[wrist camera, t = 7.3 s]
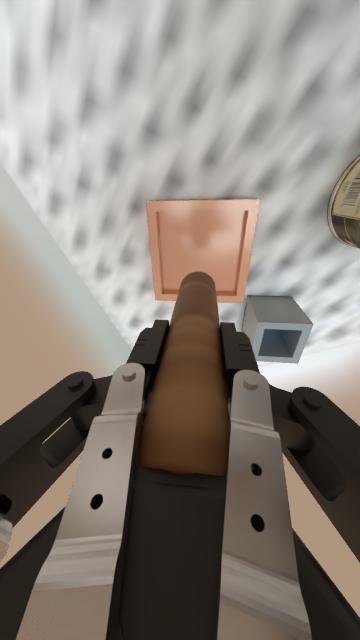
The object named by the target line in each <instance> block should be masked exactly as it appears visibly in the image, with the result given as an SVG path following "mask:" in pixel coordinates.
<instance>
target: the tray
mask: <svg viewBox="0 0 360 640" xmlns="http://www.w3.org/2000/svg"><path fill="white" fill-rule="evenodd" d="M259 204H260V199H202V200H151V201H146V207H147V217H148V228H149V239H150V249H151V260H152V270H153V281H154V292H155V300H161V301H176V300H177V296H178V293H179V289H180V285H181V282H182V280H183V278H184V277H185V276H186V275H188V274H189V273H192V272H196V271H200V272H204V273H207V274H208V275H210V276H211V277H212V279H213V280H214V282H215V287H216V296H217V302H224V303H243V301H244V295H245V289H246V283H247V277H248V270H249V264H250V258H251V252H252V246H253V240H254V234H255V228H256V222H257V216H258V210H259Z"/></svg>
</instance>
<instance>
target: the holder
mask: <svg viewBox="0 0 360 640" xmlns="http://www.w3.org/2000/svg"><path fill="white" fill-rule="evenodd" d="M312 327H313V323H312V322H311V321H310V319H309V318H308V317H307V316H306V314H305V313H304V312H303V311H302V309H301V308H300V307H299V305H298V304H297V303H296V302H295V300H294V299H293V298H292V297H282V296H248V297H247V303H246V308H245V314H244V320H243V326H242V332H244V333H245V334H246V335H247V336H248V337H249V339H250V342H251V346H252V349H253V352H254V355H255V359H256V361H265V362H282V363H298V362H299V359H300V357H301V354H302V352H303V349H304V347H305V344H306V342H307V339H308V337H309V334H310V332H311V329H312Z"/></svg>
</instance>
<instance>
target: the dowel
mask: <svg viewBox="0 0 360 640" xmlns="http://www.w3.org/2000/svg"><path fill="white" fill-rule="evenodd" d="M228 431H229V411H228V401H227V392H226V383H225V377H224V367H223V357H222V347H221V338H220V325H219V315H218V306H217V296H216V287H215V282H214V280H213V279H212V277H211V276H210V275H208V274H207V273H204V272H200V271H196V272H192V273H189V274H188V275H186V276H185V277H184V278H183V280H182V282H181V285H180V289H179V293H178V296H177V300H176V304H175V307H174V311H173V315H172V319H171V322H170V326H169V330H168V334H167V338H166V341H165V345H164V349H163V353H162V356H161V360H160V364H159V368H158V371H157V375H156V379H155V382H154V386H153V390H152V394H151V397H150V401H149V405H148V408H147V412H146V416H145V420H144V423H143V430H142V436H141V442H140V449H139V451H138V452H137V454H136V460H135V462H141V464H140V467H147V468H156V469H165V470H167V471H169V472H171V473H174V474H176V475H180V476H182V475H188V474H193V473H200V474H209V475H218V476H224V471H227V446H228Z"/></svg>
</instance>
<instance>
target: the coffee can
mask: <svg viewBox="0 0 360 640" xmlns="http://www.w3.org/2000/svg"><path fill="white" fill-rule="evenodd" d="M328 222H329V226H330V229H331V231H332V233H333V234H334V236H335V237H336V238H337V239H338V240H339V241H341V242H342V243H344V244H347V245H350V246H354V247H357V248H360V156H359V157H358V158H357V159H356V160H355V161H354V162H353V163H352V164H351V165H350V166H349V167H348V168H347V169H346V170H345V172H344V173H343V175H342V176H341V178H340V179H339V181H338V183H337V185H336V186H335V188H334V191H333V193H332V196H331V199H330V202H329V207H328Z"/></svg>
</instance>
